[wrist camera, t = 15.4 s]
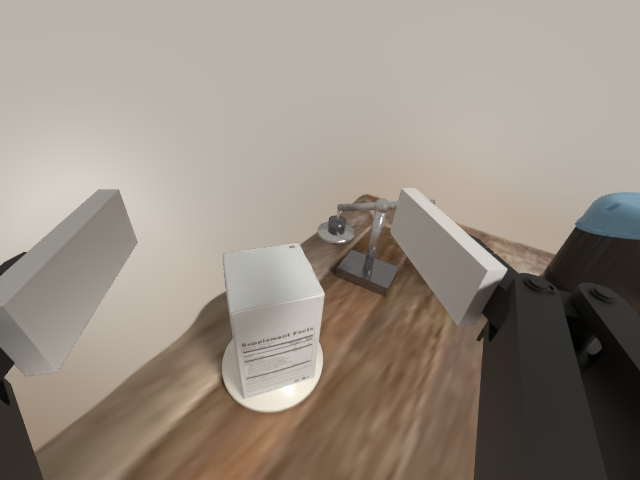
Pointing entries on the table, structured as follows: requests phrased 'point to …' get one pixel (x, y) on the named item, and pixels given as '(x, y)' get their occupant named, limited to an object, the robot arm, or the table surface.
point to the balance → (356, 264)
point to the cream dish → (270, 400)
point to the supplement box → (273, 316)
